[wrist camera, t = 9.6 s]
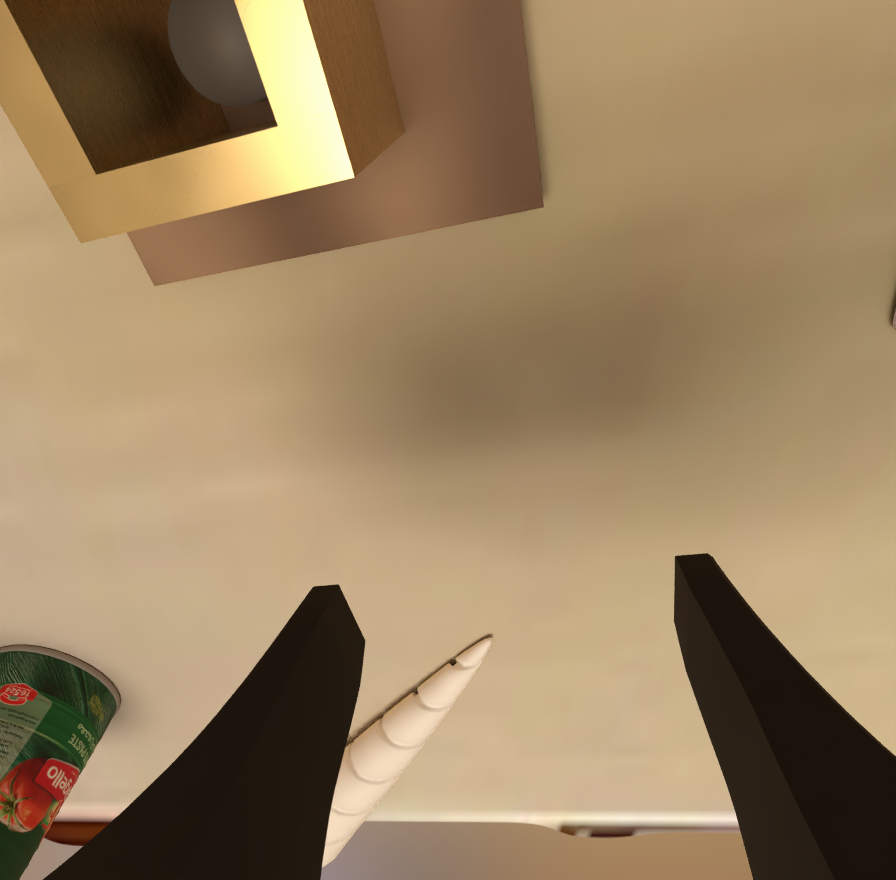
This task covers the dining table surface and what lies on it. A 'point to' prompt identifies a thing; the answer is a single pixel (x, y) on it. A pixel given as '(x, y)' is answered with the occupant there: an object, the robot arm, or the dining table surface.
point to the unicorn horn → (393, 747)
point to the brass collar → (189, 107)
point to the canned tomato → (44, 741)
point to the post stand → (397, 168)
